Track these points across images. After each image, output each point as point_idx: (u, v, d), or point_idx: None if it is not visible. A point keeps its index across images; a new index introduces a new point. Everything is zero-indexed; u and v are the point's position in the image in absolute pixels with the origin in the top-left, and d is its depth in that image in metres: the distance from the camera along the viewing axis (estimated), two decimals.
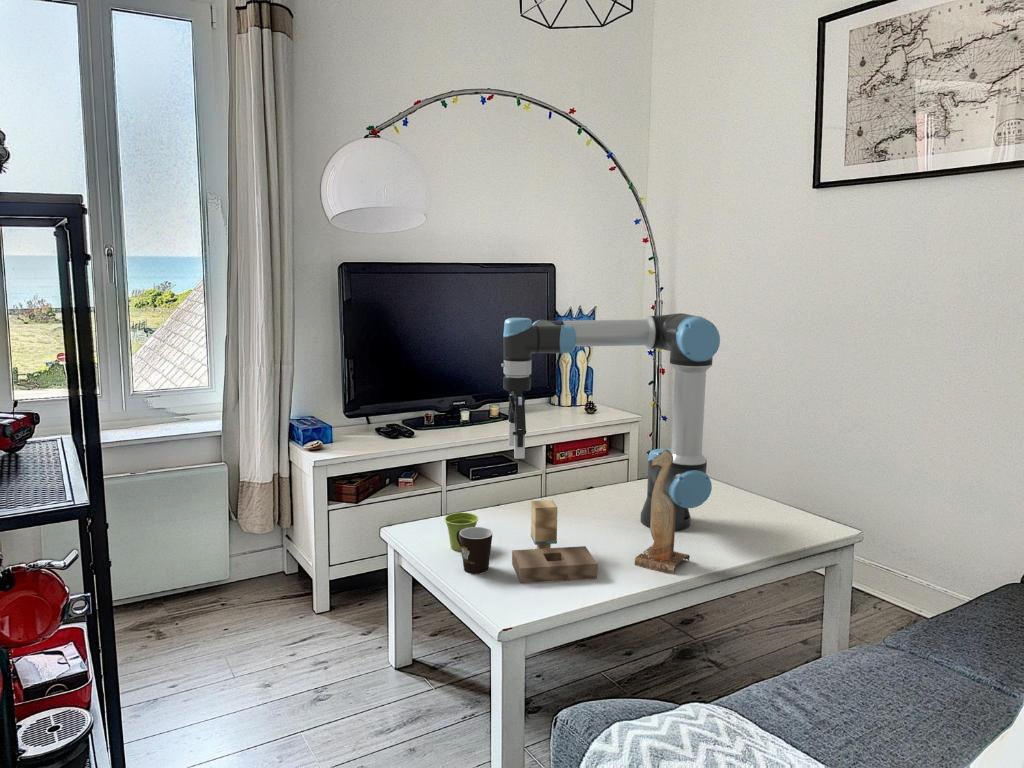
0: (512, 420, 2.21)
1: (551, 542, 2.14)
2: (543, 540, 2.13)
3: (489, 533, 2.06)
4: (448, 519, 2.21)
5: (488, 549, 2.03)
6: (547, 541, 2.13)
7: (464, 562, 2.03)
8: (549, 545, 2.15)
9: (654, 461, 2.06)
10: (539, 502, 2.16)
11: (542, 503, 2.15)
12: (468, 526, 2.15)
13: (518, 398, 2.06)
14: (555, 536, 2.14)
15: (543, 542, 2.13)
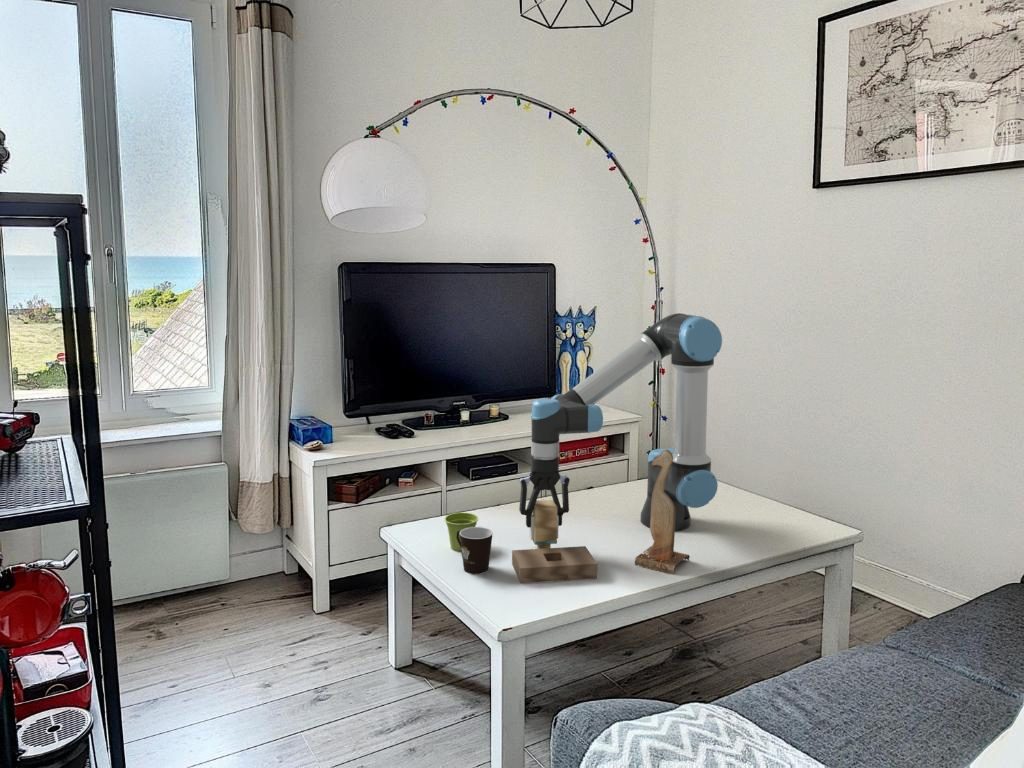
0: (557, 511, 2.16)
1: (551, 542, 2.14)
2: (543, 540, 2.13)
3: (489, 533, 2.06)
4: (448, 519, 2.21)
5: (488, 549, 2.03)
6: (547, 541, 2.13)
7: (464, 562, 2.03)
8: (549, 545, 2.15)
9: (654, 461, 2.06)
10: (539, 502, 2.16)
11: (542, 503, 2.15)
12: (468, 526, 2.15)
13: (520, 479, 2.13)
14: (555, 536, 2.14)
15: (543, 542, 2.13)
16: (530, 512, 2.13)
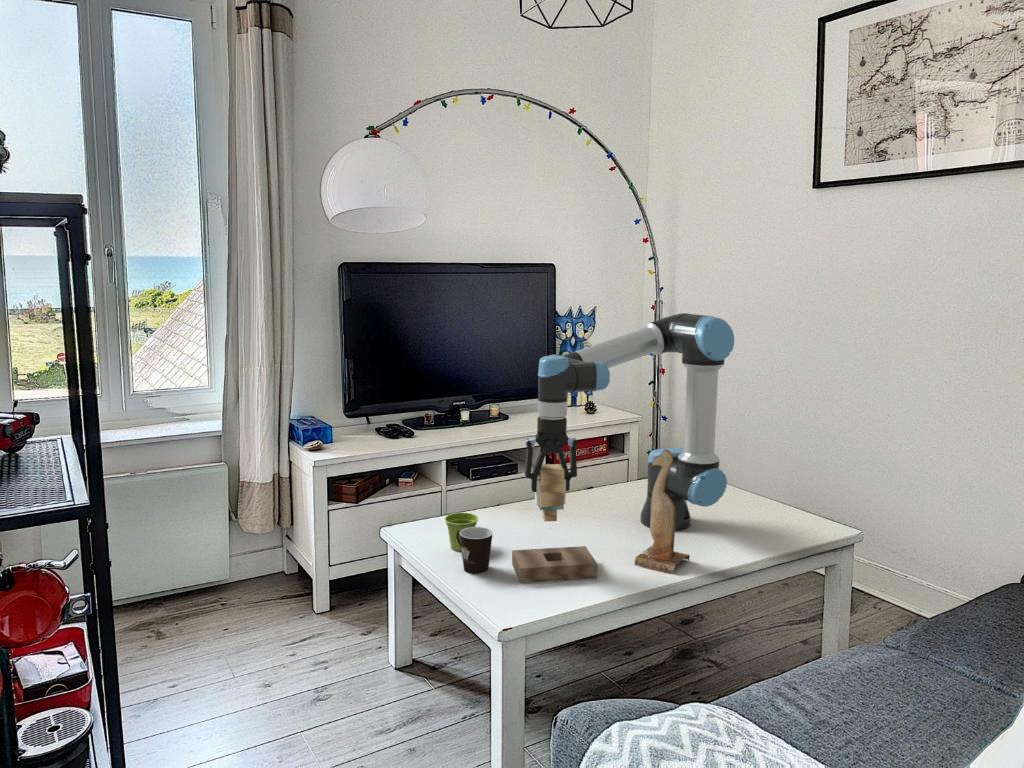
0: (564, 475, 2.05)
1: (558, 508, 2.02)
2: (549, 505, 2.02)
3: (489, 533, 2.06)
4: (448, 519, 2.21)
5: (488, 549, 2.03)
6: (553, 506, 2.02)
7: (464, 562, 2.03)
8: (555, 511, 2.04)
9: (654, 461, 2.06)
10: (545, 466, 2.05)
11: (549, 467, 2.04)
12: (468, 526, 2.15)
13: (525, 441, 2.02)
14: (562, 501, 2.02)
15: (549, 507, 2.02)
16: (536, 476, 2.02)
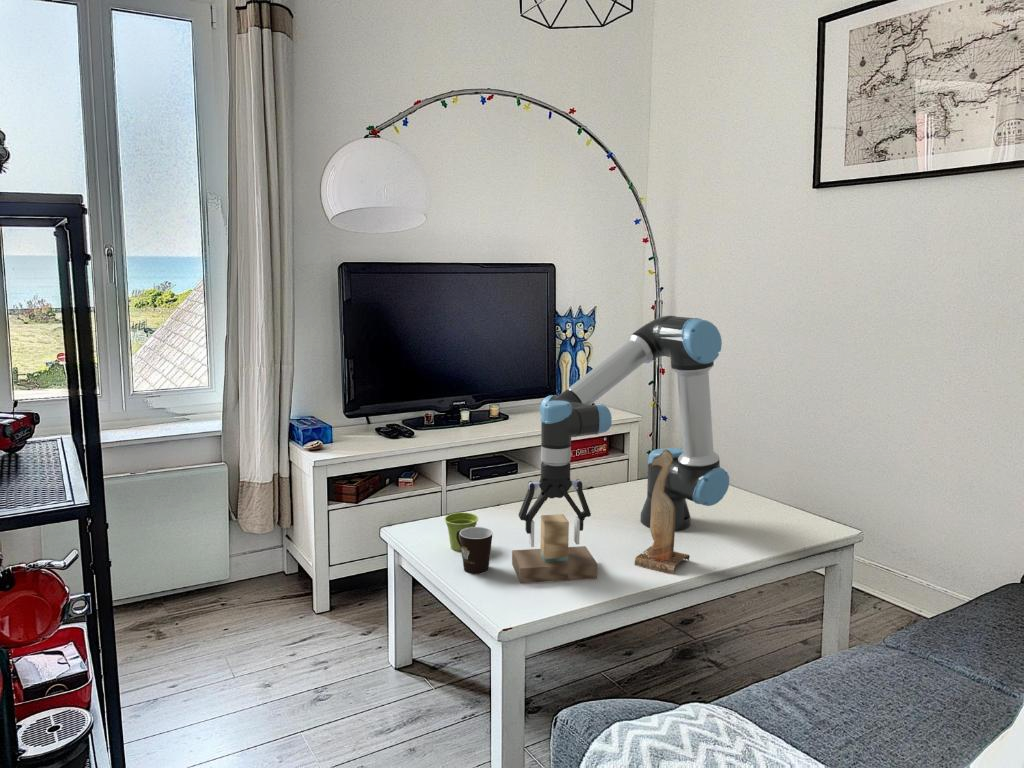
0: None
1: (562, 559, 2.01)
2: (554, 557, 2.01)
3: (489, 533, 2.06)
4: (448, 519, 2.21)
5: (488, 549, 2.03)
6: (558, 558, 2.01)
7: (464, 562, 2.03)
8: None
9: (654, 461, 2.06)
10: (549, 516, 2.03)
11: (553, 518, 2.02)
12: (468, 526, 2.15)
13: (529, 483, 2.00)
14: (566, 553, 2.01)
15: (554, 559, 2.01)
16: (531, 518, 2.00)
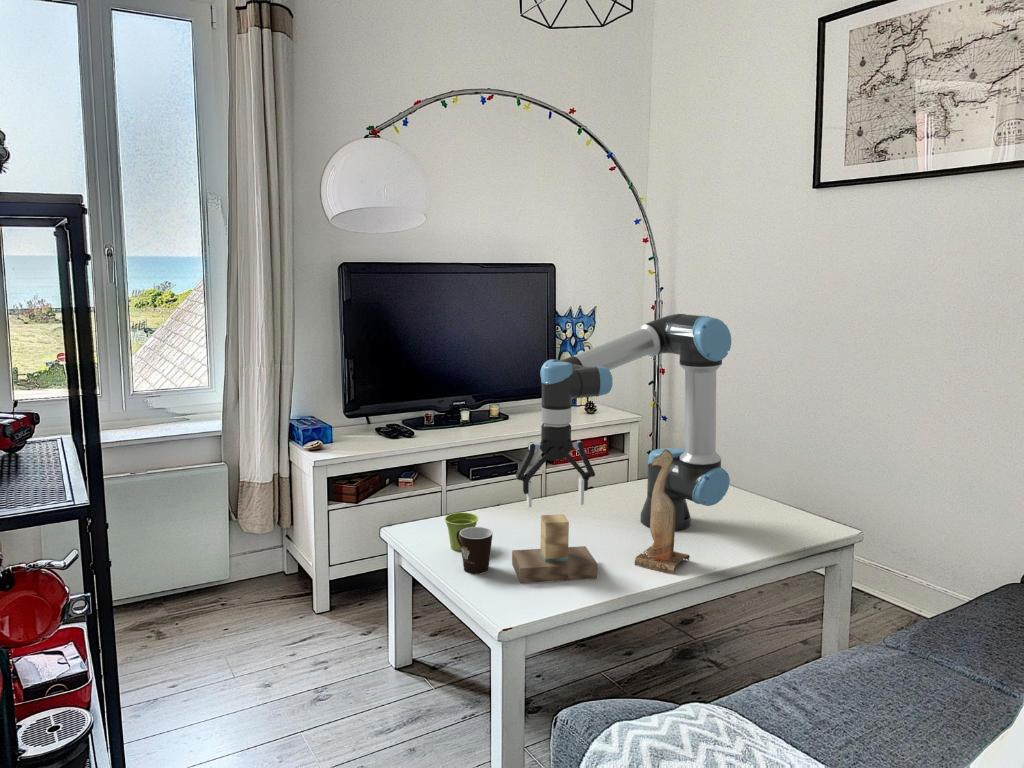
0: None
1: (562, 559, 2.01)
2: (554, 557, 2.01)
3: (489, 533, 2.06)
4: (448, 519, 2.21)
5: (488, 549, 2.03)
6: (558, 558, 2.01)
7: (464, 562, 2.03)
8: None
9: (654, 461, 2.06)
10: (549, 516, 2.03)
11: (553, 518, 2.02)
12: (468, 526, 2.15)
13: (530, 443, 1.98)
14: (566, 553, 2.01)
15: (554, 559, 2.01)
16: (528, 478, 1.98)
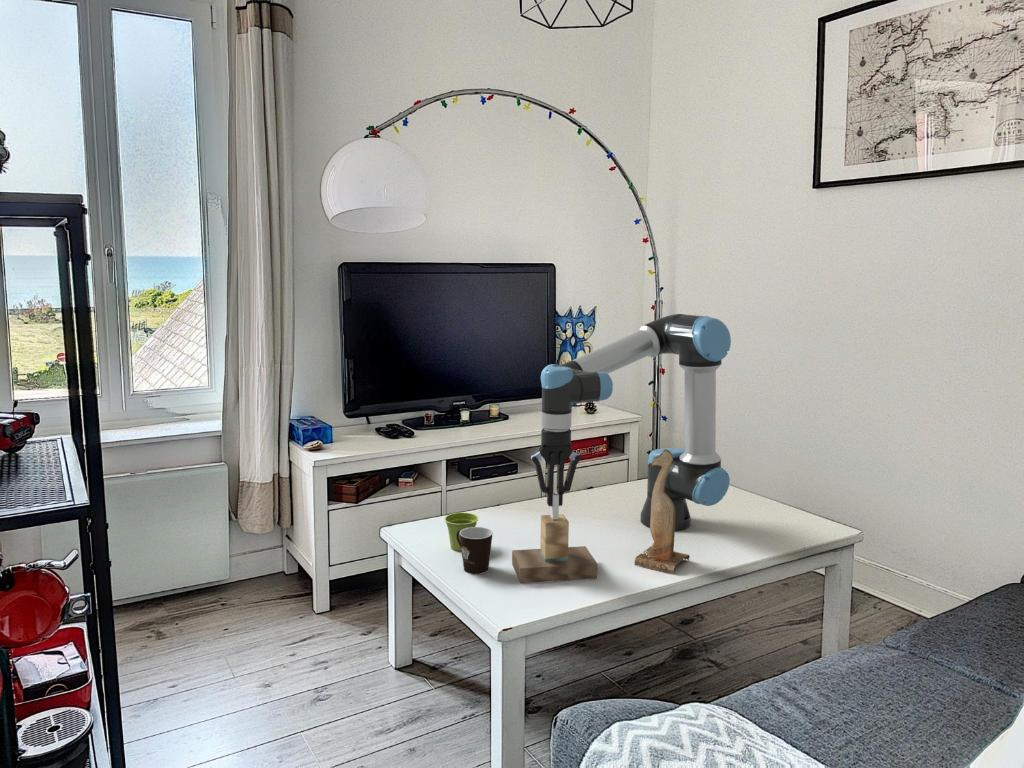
0: (557, 490, 2.01)
1: (562, 559, 2.01)
2: (554, 557, 2.01)
3: (489, 533, 2.06)
4: (448, 519, 2.21)
5: (488, 549, 2.03)
6: (558, 558, 2.01)
7: (464, 562, 2.03)
8: None
9: (654, 461, 2.06)
10: (549, 516, 2.03)
11: None
12: (468, 526, 2.15)
13: (531, 457, 1.99)
14: (566, 553, 2.01)
15: (554, 559, 2.01)
16: (551, 490, 1.99)
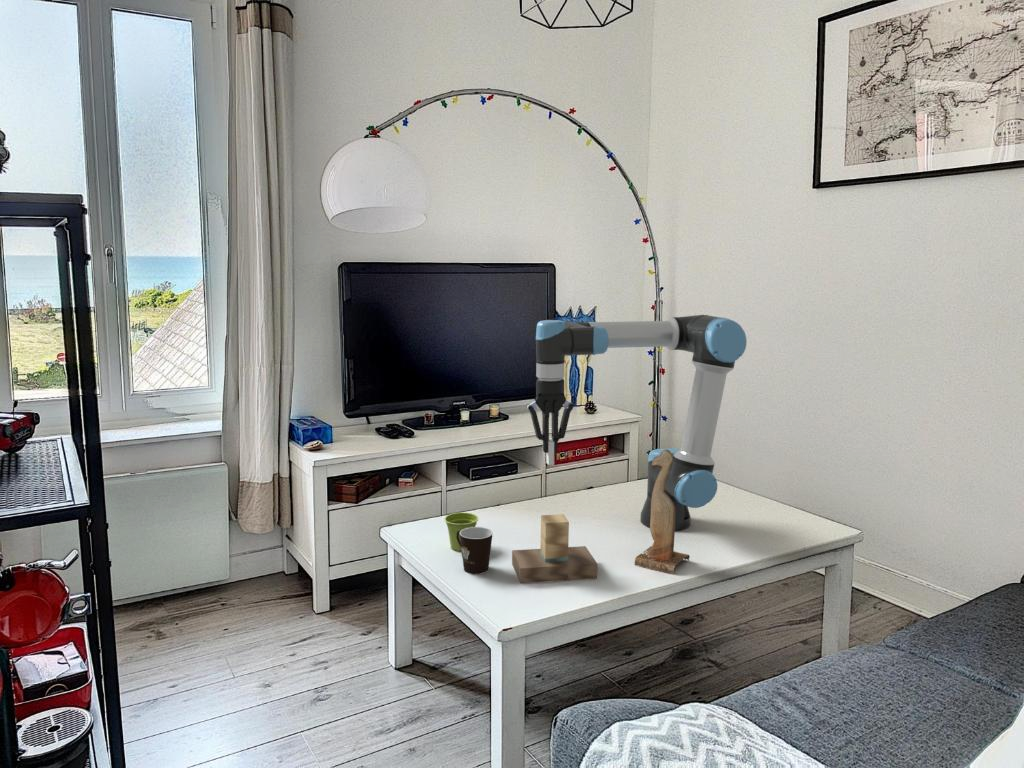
0: (552, 437, 2.13)
1: (562, 559, 2.01)
2: (554, 557, 2.01)
3: (489, 533, 2.06)
4: (448, 519, 2.21)
5: (488, 549, 2.03)
6: (558, 558, 2.01)
7: (464, 562, 2.03)
8: None
9: (654, 461, 2.06)
10: (549, 516, 2.03)
11: (553, 518, 2.02)
12: (468, 526, 2.15)
13: (527, 406, 2.10)
14: (566, 553, 2.01)
15: (554, 559, 2.01)
16: (546, 437, 2.11)
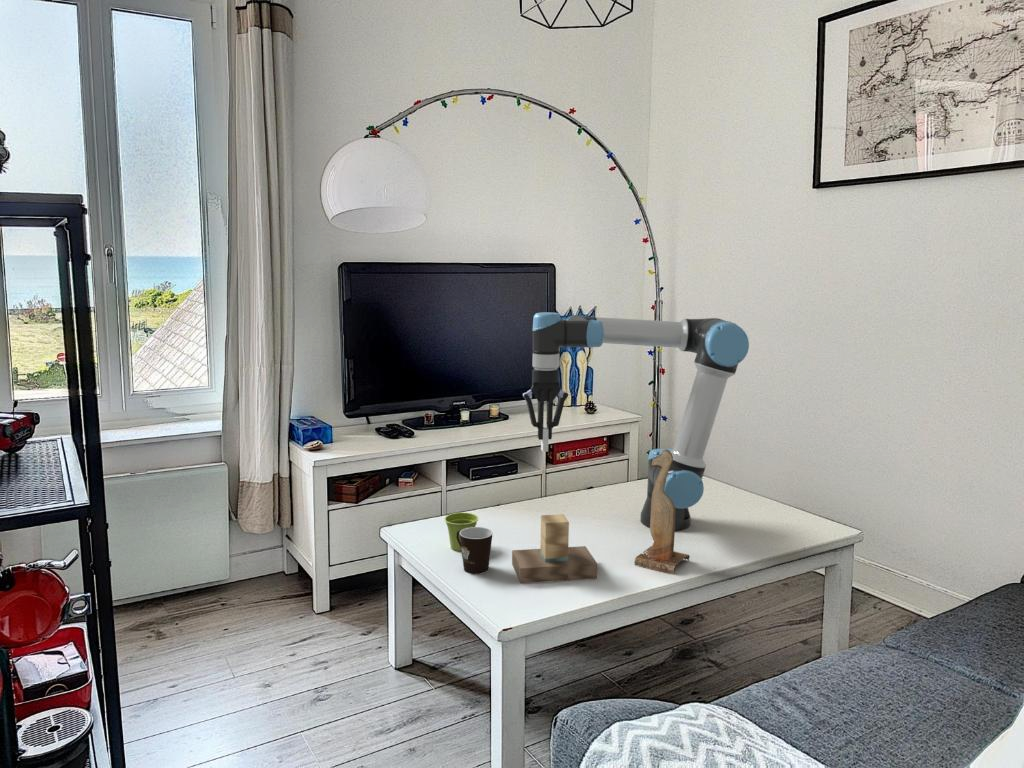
0: (547, 425, 2.22)
1: (562, 559, 2.01)
2: (554, 557, 2.01)
3: (489, 533, 2.06)
4: (448, 519, 2.21)
5: (488, 549, 2.03)
6: (558, 558, 2.01)
7: (464, 562, 2.03)
8: None
9: (654, 461, 2.06)
10: (549, 516, 2.03)
11: (553, 518, 2.02)
12: (468, 526, 2.15)
13: (523, 395, 2.19)
14: (566, 553, 2.01)
15: (554, 559, 2.01)
16: (541, 424, 2.20)
